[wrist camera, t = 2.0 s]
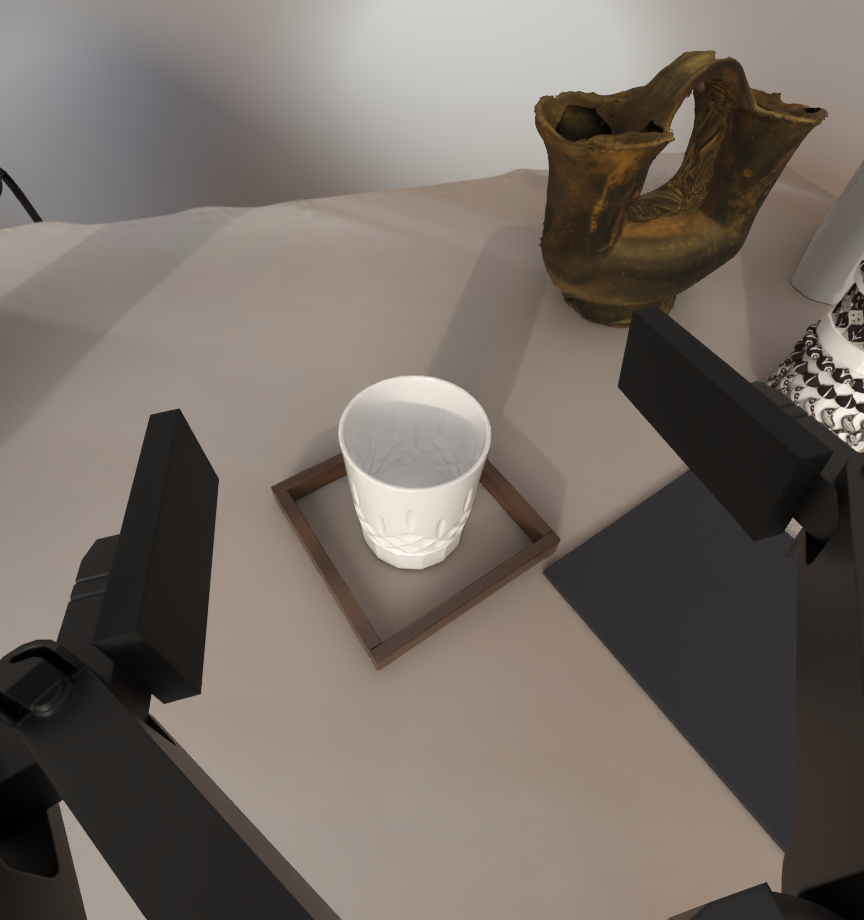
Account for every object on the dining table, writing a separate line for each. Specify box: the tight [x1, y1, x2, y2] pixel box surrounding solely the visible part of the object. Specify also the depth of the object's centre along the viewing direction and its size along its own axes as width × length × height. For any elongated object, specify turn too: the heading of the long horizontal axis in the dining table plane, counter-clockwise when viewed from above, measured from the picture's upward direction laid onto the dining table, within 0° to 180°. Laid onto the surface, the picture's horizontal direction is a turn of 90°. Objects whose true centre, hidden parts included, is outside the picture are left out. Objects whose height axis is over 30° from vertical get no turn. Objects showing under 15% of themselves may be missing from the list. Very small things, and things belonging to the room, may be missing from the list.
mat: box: [543, 470, 798, 852], centre depth 31 cm, size 18×16×1 cm
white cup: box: [339, 375, 491, 570], centre depth 30 cm, size 8×8×10 cm
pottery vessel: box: [534, 51, 828, 327], centre depth 43 cm, size 25×11×20 cm, turn 114°
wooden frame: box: [271, 453, 561, 670], centre depth 34 cm, size 14×14×2 cm
